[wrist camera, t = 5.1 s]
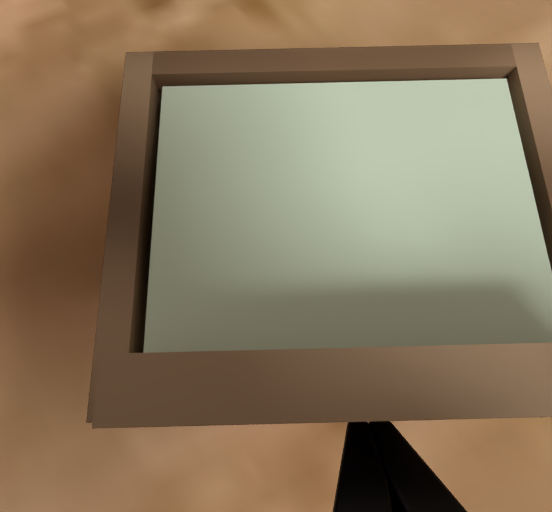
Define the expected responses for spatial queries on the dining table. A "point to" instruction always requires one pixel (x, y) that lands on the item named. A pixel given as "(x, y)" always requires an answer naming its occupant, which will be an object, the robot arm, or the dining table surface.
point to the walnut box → (281, 70)
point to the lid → (339, 260)
